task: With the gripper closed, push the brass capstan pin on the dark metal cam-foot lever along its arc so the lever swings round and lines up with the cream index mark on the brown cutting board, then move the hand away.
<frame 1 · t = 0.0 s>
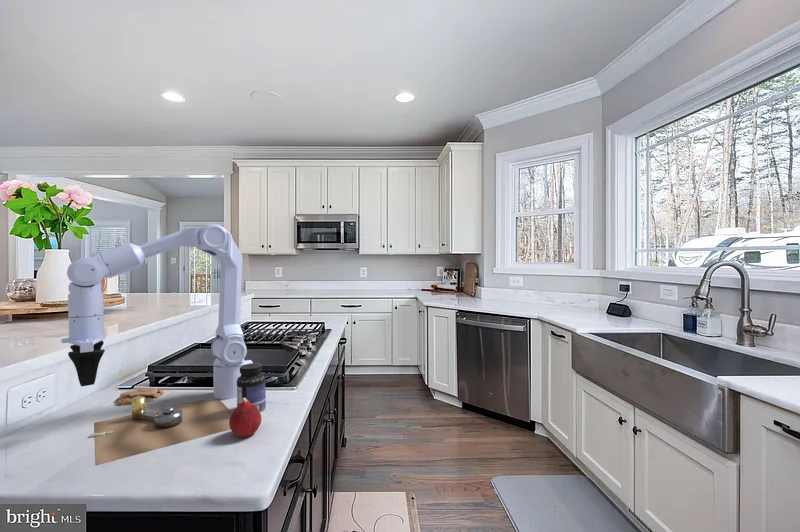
hand: (87, 380, 80), 10 cm above the countertop, tool pointing down, fingers open, 7 cm apart
cookie: (139, 403, 96), on the countertop
red rounded piece: (245, 439, 75), on the countertop
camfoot: (155, 410, 82), point 3 cm above the countertop, hinge at -45.0°
pill bottle: (251, 414, 88), on the countertop
brown cutting board: (168, 428, 80), on the countertop
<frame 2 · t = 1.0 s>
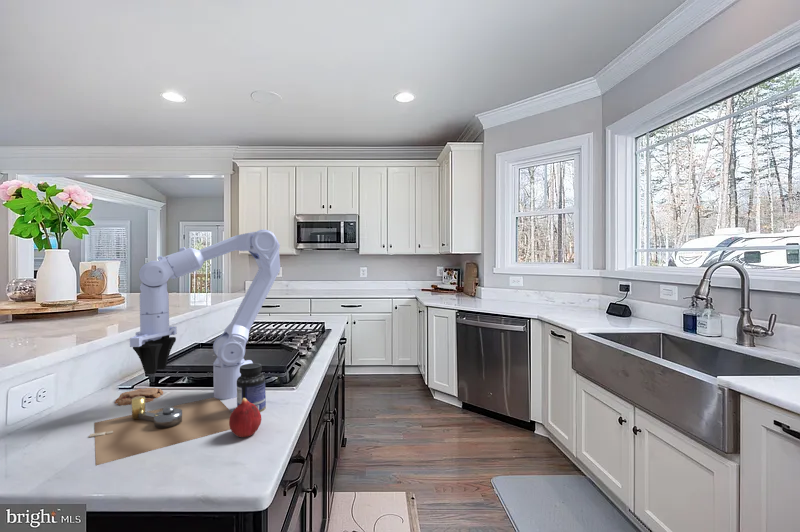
hand: (155, 371, 90), 9 cm above the countertop, tool pointing down, fingers open, 3 cm apart
nothing on the countertop moved.
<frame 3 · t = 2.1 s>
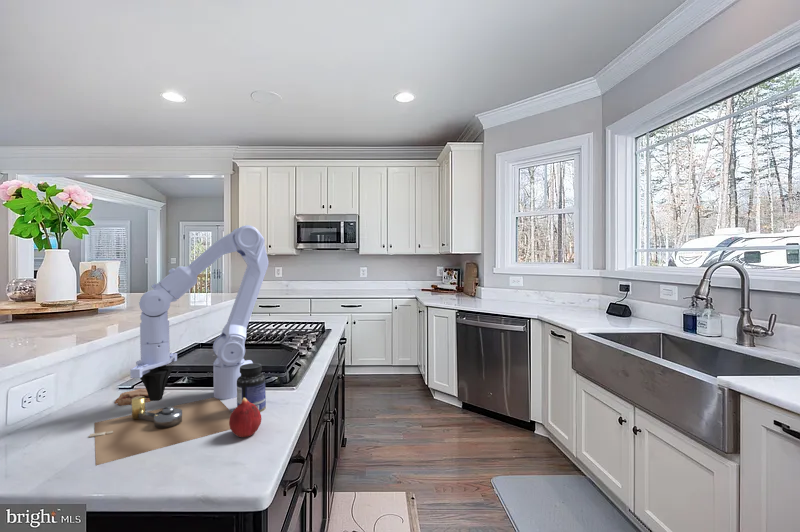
hand: (156, 399, 90), 3 cm above the countertop, tool pointing down, fingers closed
nothing on the countertop moved.
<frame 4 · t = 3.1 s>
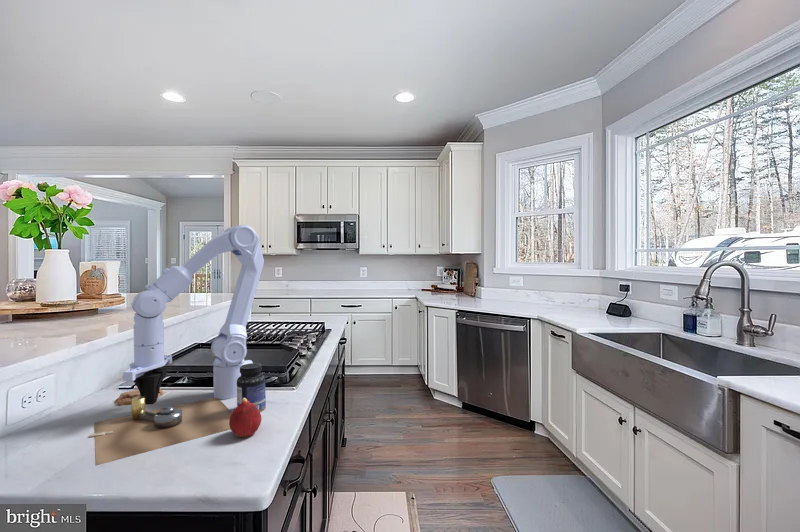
hand: (150, 403, 87), 3 cm above the countertop, tool pointing down, fingers closed
nothing on the countertop moved.
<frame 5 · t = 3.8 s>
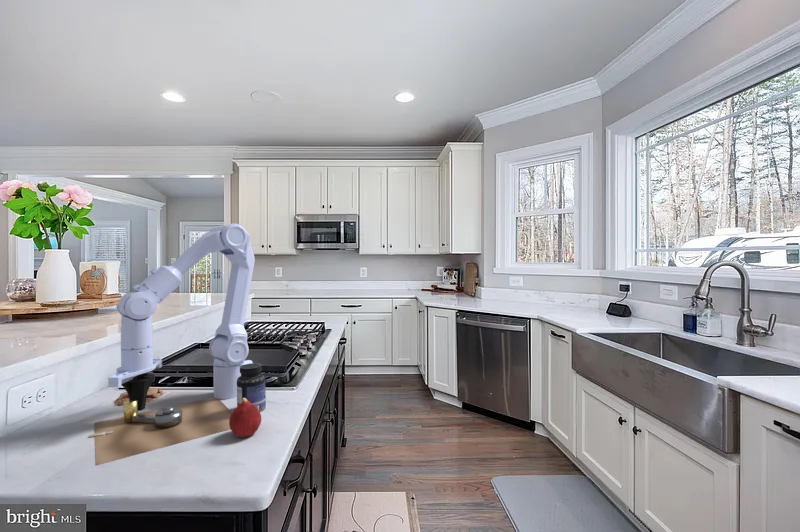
hand: (137, 409, 84), 3 cm above the countertop, tool pointing down, fingers closed, pressing on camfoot
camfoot: (152, 412, 81), point 3 cm above the countertop, hinge at -33.6°, touching gripper
everything else where it was.
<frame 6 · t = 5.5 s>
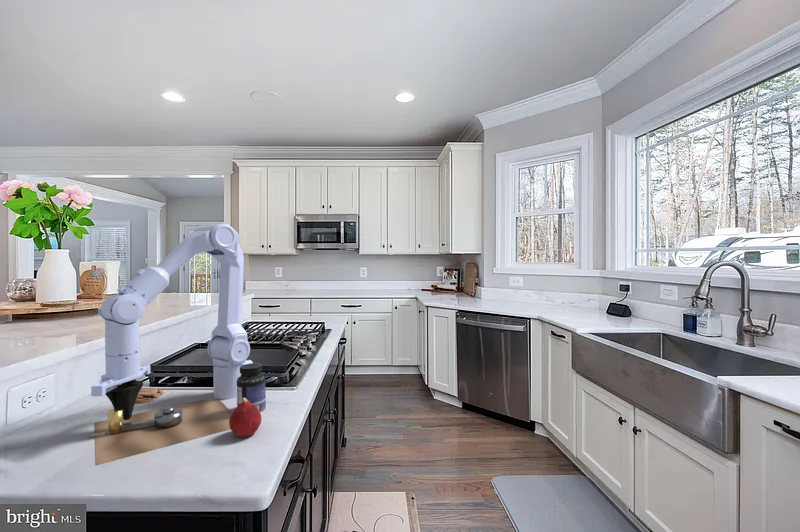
hand: (124, 419, 79), 3 cm above the countertop, tool pointing down, fingers closed
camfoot: (146, 416, 79), point 3 cm above the countertop, hinge at 0.4°, touching gripper
everything else where it was.
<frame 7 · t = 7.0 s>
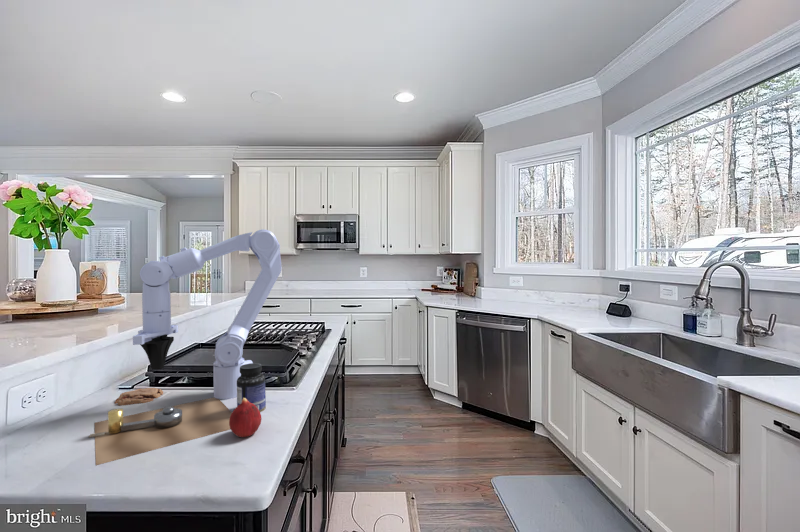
hand: (157, 368, 92), 9 cm above the countertop, tool pointing down, fingers closed
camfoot: (146, 416, 79), point 3 cm above the countertop, hinge at 0.4°
everything else where it was.
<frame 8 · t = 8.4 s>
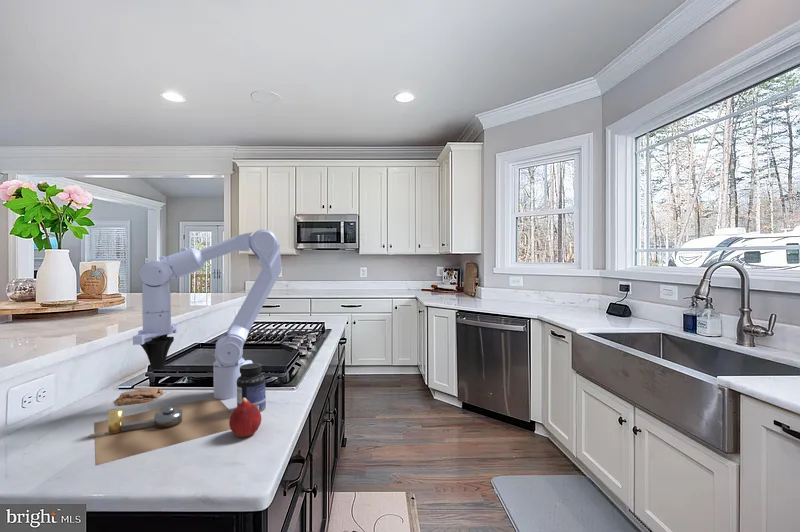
hand: (157, 368, 92), 9 cm above the countertop, tool pointing down, fingers closed
nothing on the countertop moved.
at the end: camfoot at +0° (first picture: -45°); pill bottle moved 0.2 cm from its start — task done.
